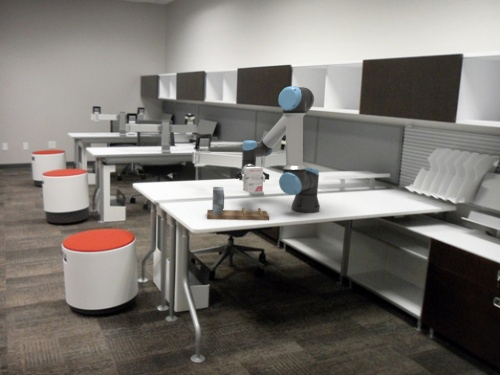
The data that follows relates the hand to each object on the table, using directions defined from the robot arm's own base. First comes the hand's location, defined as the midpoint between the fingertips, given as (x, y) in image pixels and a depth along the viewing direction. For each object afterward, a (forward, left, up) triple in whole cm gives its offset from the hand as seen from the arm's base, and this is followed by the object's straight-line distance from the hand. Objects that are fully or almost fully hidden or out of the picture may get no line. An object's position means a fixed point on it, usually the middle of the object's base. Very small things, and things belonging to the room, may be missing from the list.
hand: (253, 179), depth 229 cm
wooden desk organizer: (+7, -4, -20) cm, 22 cm away
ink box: (0, -4, -7) cm, 8 cm away
